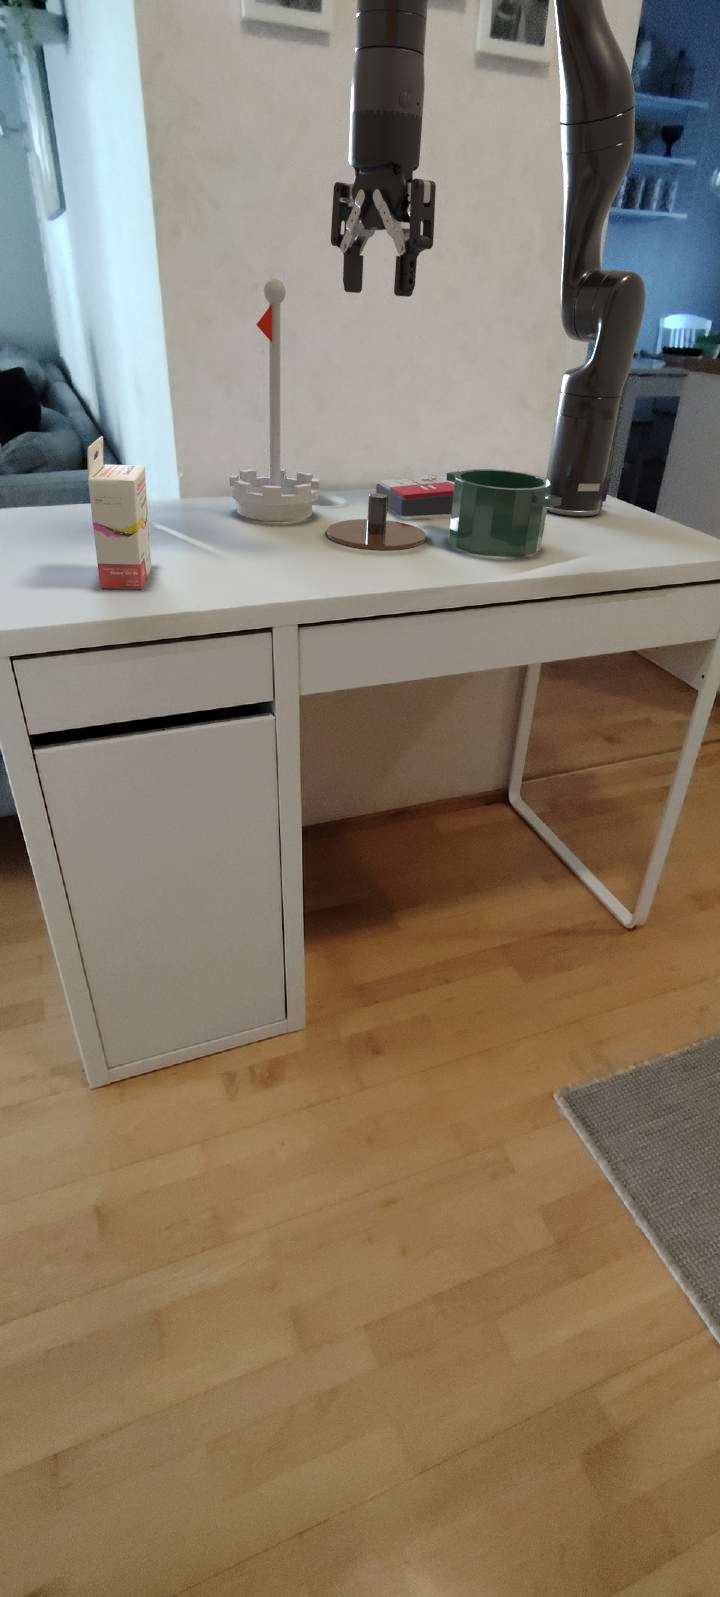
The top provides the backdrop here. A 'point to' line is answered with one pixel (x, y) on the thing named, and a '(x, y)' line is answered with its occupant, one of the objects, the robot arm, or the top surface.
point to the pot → (498, 511)
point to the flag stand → (274, 443)
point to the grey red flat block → (418, 495)
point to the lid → (376, 529)
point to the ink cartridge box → (119, 521)
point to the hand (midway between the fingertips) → (377, 294)
